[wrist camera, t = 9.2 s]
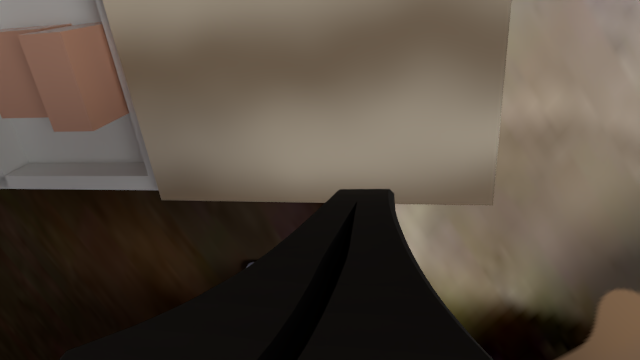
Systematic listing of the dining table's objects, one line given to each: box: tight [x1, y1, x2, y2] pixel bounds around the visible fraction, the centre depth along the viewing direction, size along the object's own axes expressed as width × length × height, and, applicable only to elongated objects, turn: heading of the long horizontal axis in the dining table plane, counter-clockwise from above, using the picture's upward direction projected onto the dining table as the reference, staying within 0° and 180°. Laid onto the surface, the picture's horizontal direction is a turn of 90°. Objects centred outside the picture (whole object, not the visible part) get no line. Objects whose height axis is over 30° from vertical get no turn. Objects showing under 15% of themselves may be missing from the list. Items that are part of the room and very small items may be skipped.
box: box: [0, 0, 158, 190], centre depth 21 cm, size 12×11×2 cm
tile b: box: [0, 24, 72, 118], centre depth 21 cm, size 4×4×2 cm
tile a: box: [17, 22, 129, 132], centre depth 19 cm, size 4×4×2 cm
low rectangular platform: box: [102, 0, 511, 205], centre depth 18 cm, size 12×15×4 cm
